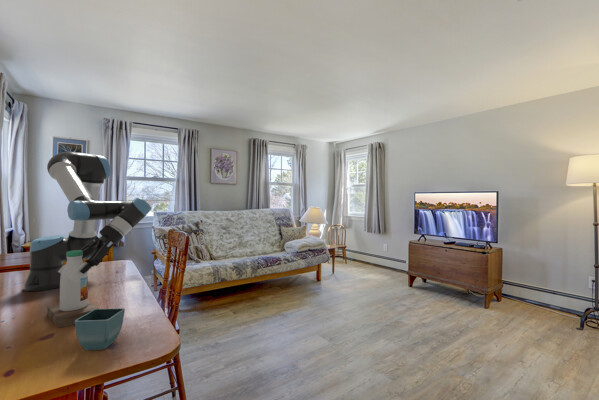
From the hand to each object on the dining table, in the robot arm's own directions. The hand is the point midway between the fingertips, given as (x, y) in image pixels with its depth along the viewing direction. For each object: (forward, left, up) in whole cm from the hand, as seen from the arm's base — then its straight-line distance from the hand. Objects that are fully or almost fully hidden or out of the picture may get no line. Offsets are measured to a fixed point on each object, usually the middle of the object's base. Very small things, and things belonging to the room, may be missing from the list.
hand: (66, 277), depth 98 cm
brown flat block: (0, +2, -14) cm, 14 cm away
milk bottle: (0, +2, -11) cm, 12 cm away
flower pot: (+31, +1, -14) cm, 34 cm away
